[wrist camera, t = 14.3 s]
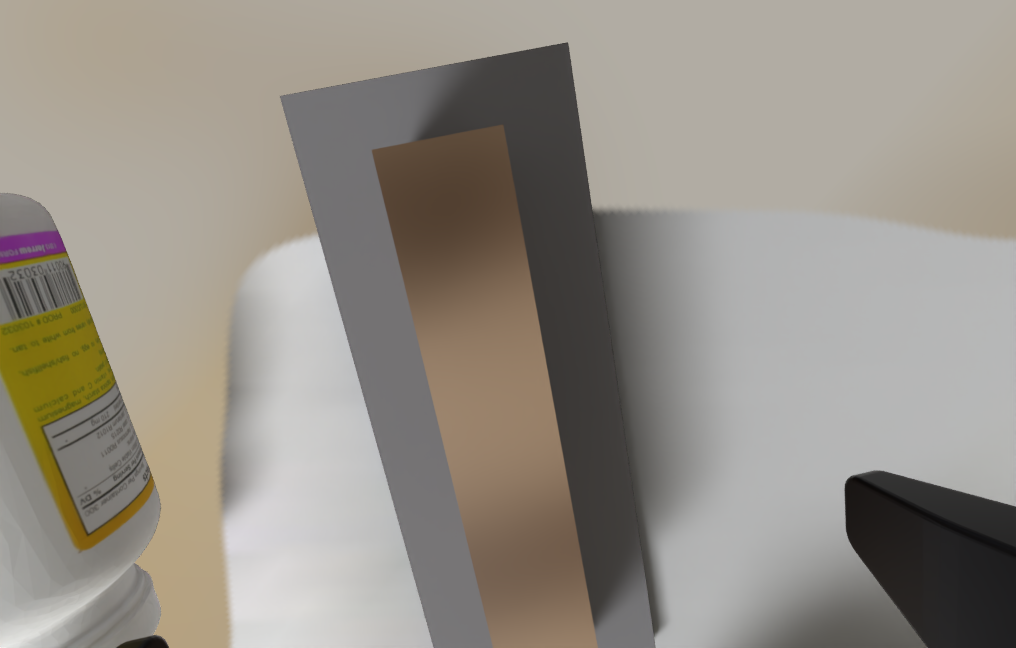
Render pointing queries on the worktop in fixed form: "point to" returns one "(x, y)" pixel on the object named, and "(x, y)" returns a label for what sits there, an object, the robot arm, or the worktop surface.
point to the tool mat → (559, 301)
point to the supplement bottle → (64, 458)
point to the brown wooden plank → (489, 381)
